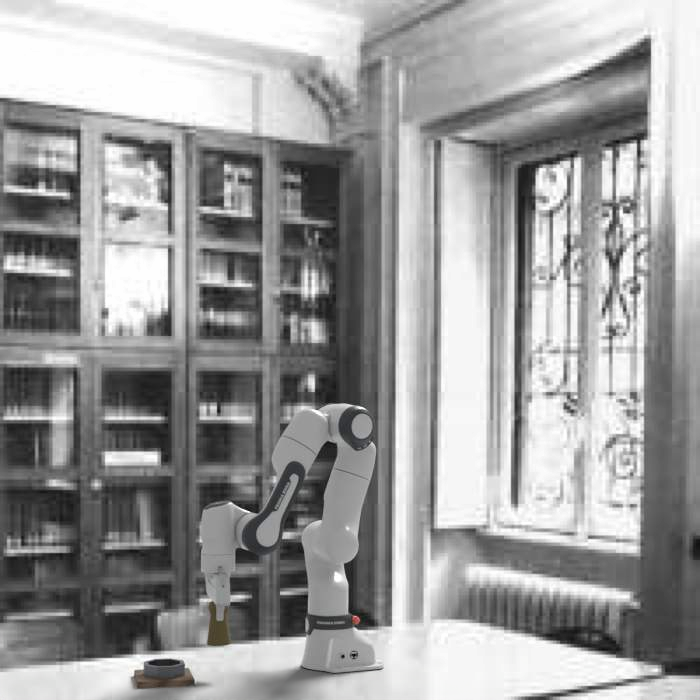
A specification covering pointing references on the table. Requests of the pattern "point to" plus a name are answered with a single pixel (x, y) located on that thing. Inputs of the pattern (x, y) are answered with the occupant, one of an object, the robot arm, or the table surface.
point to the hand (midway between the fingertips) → (218, 618)
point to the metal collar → (164, 669)
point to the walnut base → (163, 680)
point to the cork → (218, 628)
